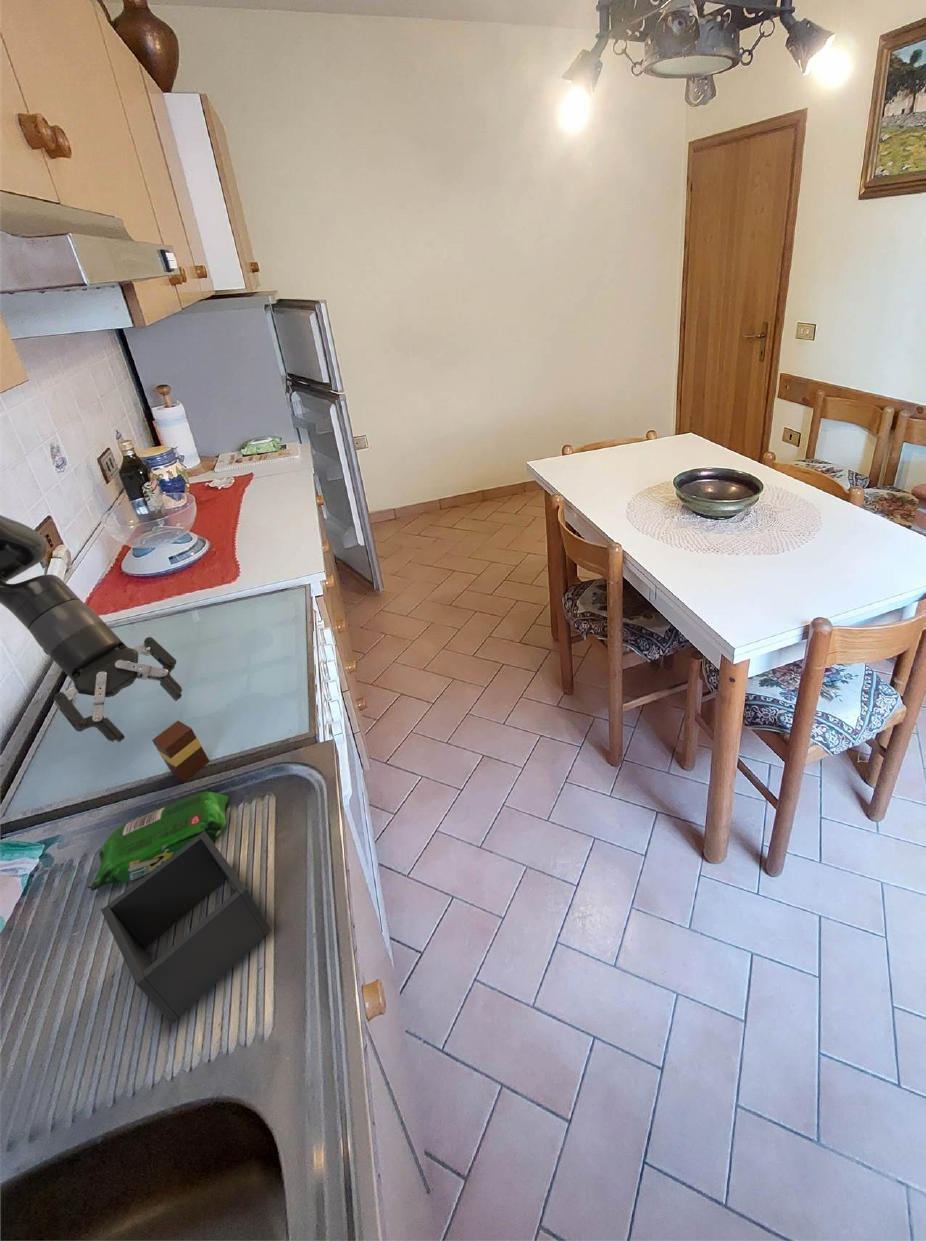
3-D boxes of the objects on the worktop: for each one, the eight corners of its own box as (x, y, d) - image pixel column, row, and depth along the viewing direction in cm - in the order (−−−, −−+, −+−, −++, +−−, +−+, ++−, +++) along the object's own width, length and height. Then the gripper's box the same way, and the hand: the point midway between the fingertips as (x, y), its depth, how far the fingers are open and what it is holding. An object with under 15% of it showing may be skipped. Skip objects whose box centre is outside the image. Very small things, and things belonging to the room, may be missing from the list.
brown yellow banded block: (188, 788, 86) (164, 749, 82) (174, 778, 87) (150, 740, 83) (213, 766, 89) (192, 728, 85) (199, 757, 90) (178, 719, 86)
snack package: (106, 857, 77) (87, 834, 75) (232, 799, 83) (219, 776, 81) (99, 906, 72) (79, 883, 69) (235, 841, 78) (221, 817, 75)
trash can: (176, 1029, 60) (136, 984, 55) (139, 956, 66) (100, 909, 61) (275, 936, 67) (246, 888, 62) (233, 877, 73) (204, 830, 69)
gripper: (19, 660, 78) (101, 749, 78) (127, 600, 88) (200, 678, 88) (22, 677, 83) (100, 760, 83) (124, 618, 93) (193, 692, 93)
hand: (151, 718), depth 86 cm, fingers open, 8 cm apart
